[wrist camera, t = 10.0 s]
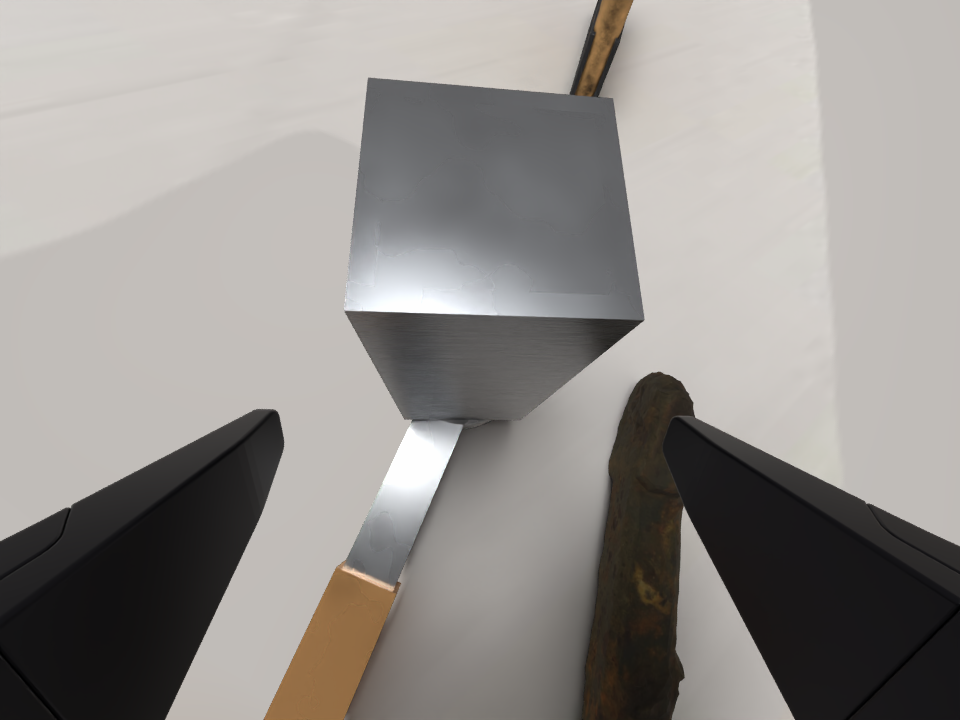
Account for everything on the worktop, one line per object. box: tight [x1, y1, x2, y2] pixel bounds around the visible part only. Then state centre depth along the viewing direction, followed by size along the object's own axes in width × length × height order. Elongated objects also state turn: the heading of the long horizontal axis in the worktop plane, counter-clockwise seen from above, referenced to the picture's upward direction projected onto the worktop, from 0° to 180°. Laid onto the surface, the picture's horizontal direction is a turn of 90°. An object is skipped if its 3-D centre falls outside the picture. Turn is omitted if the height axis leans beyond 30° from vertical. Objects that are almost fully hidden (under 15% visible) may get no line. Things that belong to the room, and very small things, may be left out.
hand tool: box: [582, 372, 695, 720], centre depth 18 cm, size 19×4×5 cm, turn 165°
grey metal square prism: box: [344, 78, 644, 420], centre depth 14 cm, size 6×6×12 cm
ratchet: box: [264, 419, 491, 720], centre depth 17 cm, size 22×6×5 cm, turn 158°
